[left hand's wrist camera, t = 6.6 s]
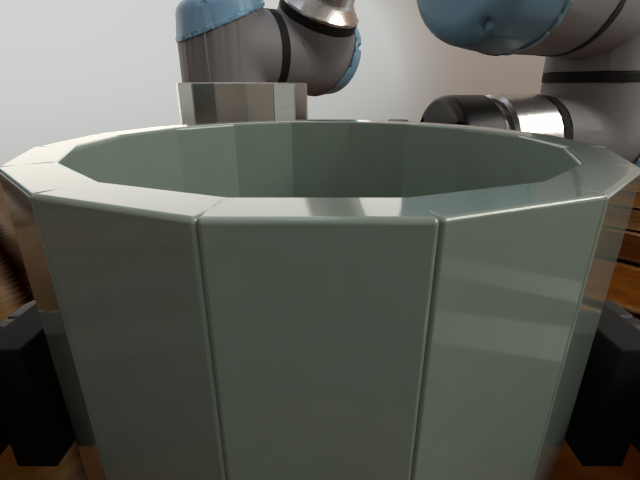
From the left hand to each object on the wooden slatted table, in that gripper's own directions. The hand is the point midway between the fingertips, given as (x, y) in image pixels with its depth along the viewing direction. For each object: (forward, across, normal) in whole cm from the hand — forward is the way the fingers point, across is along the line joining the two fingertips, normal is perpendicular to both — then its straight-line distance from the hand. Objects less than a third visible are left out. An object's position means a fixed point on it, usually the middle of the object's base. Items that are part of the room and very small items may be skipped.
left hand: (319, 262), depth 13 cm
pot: (-4, 0, -6) cm, 8 cm away
